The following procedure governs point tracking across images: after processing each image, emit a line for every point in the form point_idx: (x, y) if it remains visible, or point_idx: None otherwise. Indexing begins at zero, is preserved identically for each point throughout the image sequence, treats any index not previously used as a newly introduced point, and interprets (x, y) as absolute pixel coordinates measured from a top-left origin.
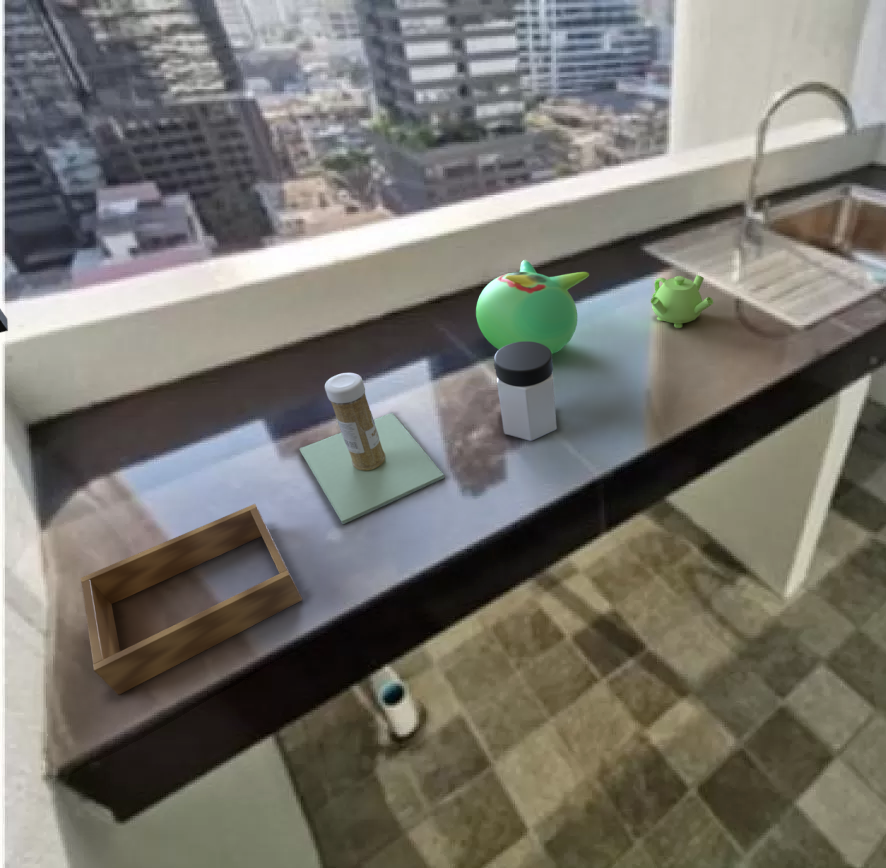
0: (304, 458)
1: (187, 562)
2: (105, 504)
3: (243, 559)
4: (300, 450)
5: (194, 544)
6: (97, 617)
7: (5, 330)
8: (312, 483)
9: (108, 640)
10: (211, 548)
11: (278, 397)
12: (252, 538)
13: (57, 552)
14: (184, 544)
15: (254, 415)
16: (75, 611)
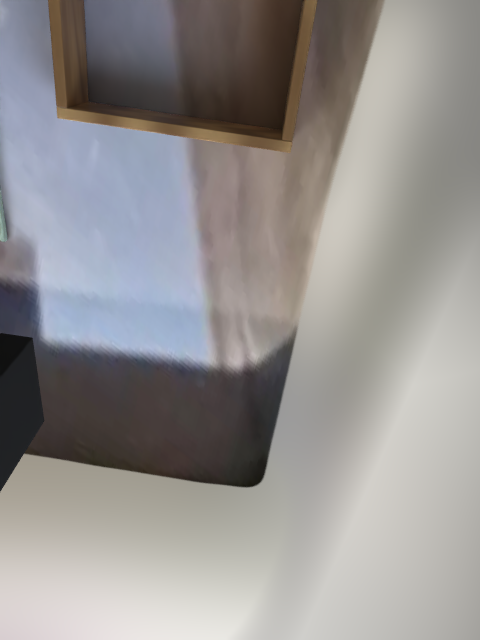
0: (4, 219)
1: (183, 117)
2: (238, 320)
3: (123, 73)
4: (3, 236)
5: (158, 118)
6: (296, 49)
7: (4, 335)
8: (4, 158)
9: (301, 14)
10: (148, 113)
11: None
12: (101, 103)
13: (301, 277)
14: (167, 121)
15: (49, 354)
16: (317, 154)
